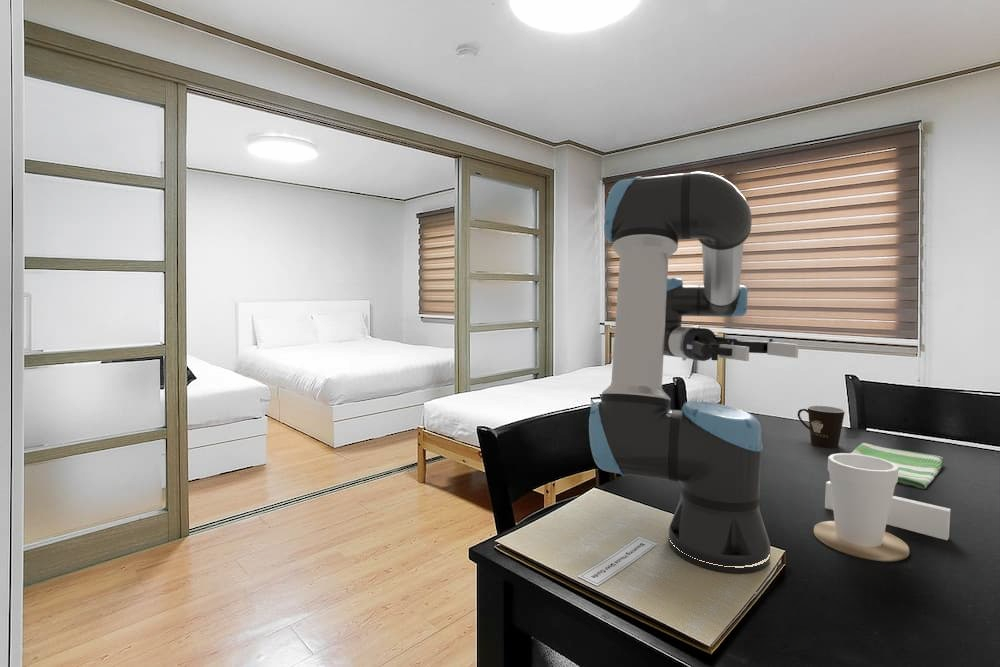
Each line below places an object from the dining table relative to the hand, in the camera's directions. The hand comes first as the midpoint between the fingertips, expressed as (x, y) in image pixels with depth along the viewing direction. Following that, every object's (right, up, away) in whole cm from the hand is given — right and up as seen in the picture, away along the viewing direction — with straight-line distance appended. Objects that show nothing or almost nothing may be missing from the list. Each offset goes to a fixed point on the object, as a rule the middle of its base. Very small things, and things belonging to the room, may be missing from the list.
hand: (773, 352), depth 100 cm
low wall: (+16, -31, -8) cm, 35 cm away
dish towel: (+40, -29, +23) cm, 55 cm away
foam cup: (+6, -31, -15) cm, 35 cm away
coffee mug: (+36, -27, +42) cm, 62 cm away
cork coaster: (+6, -31, -15) cm, 35 cm away
